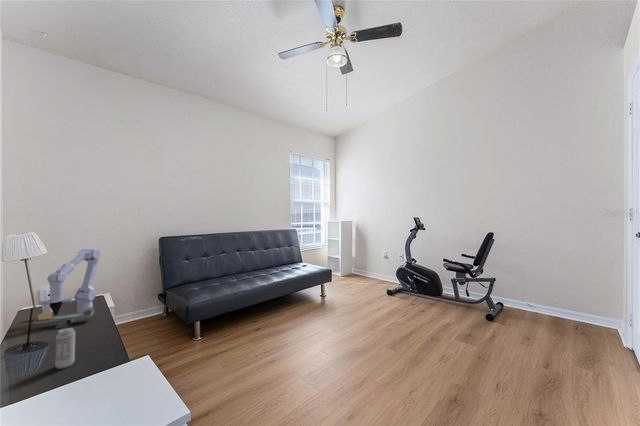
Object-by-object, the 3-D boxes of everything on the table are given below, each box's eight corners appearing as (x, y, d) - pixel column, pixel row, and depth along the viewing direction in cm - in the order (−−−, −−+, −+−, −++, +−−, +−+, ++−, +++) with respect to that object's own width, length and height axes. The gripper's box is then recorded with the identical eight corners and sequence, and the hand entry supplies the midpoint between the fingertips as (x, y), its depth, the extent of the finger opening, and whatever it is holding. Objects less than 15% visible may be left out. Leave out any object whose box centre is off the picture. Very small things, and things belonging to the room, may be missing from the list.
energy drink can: (78, 361, 118) (79, 327, 118) (65, 369, 112) (66, 332, 112) (64, 362, 117) (65, 327, 118) (50, 369, 111) (52, 333, 112)
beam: (40, 320, 161) (40, 313, 161) (94, 313, 173) (94, 306, 173) (33, 325, 153) (34, 317, 153) (90, 317, 165) (90, 310, 165)
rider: (41, 318, 159) (41, 313, 160) (55, 317, 162) (55, 311, 162) (38, 321, 155) (38, 315, 155) (52, 319, 158) (52, 313, 158)
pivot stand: (62, 322, 166) (62, 314, 167) (75, 320, 169) (75, 312, 169) (55, 328, 156) (55, 320, 156) (68, 326, 159) (68, 318, 159)
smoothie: (38, 318, 174) (39, 296, 175) (52, 315, 180) (52, 294, 180) (42, 319, 171) (43, 297, 172) (56, 316, 177) (56, 295, 177)
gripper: (37, 295, 154) (36, 319, 154) (70, 292, 161) (69, 315, 161) (42, 293, 160) (41, 315, 160) (74, 289, 167) (73, 311, 167)
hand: (56, 315), depth 161 cm, fingers closed
